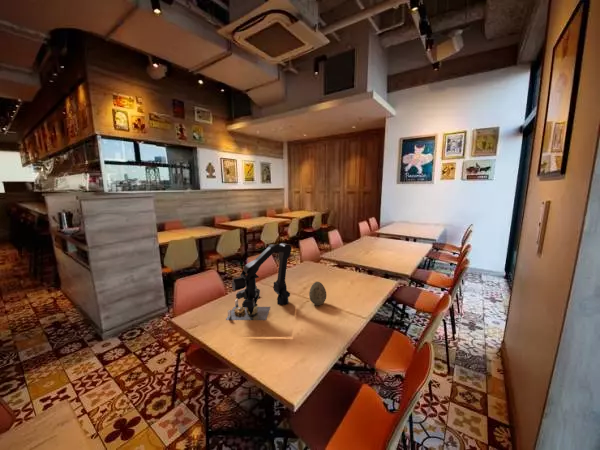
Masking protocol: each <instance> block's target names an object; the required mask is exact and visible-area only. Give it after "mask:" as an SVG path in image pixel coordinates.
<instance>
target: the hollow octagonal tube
mask: <svg viewBox="0 0 600 450" xmlns="http://www.w3.org/2000/svg"><path fill="white" fill-rule="evenodd" d="M258 307H259V306H258V303H255V306H254V309H253V312H252V314H255V313H257V311H258ZM246 308H247V307H246ZM247 313H248V314H250V312H249V310H248V308H247Z"/></svg>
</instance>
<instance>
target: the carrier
mask: <svg viewBox="0 0 600 450" xmlns="http://www.w3.org/2000/svg"><path fill="white" fill-rule="evenodd" d="M234 304H235V305H234V306H233V308H232V309H229V310H227V317H226V319H225V321H266V320H267V318H268V315H269V313H270V310H271V306H258V311H257V313H255V314H248V313H247V308H246V307H242V306H239V299H237V298H236V299H235V300H234Z"/></svg>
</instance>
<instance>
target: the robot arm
mask: <svg viewBox="0 0 600 450" xmlns="http://www.w3.org/2000/svg"><path fill="white" fill-rule="evenodd" d="M275 252H277V253H278V256H279V263H278V272H277V278H276V279H277V280H276V281H274V282H273V287H272V288H273V292H274V293H276V294H277V295H278V296H277V299H276V303H277V305H281V306H285V305H289V298H290V296H291V292H289V291H288V290H287V283H286V275H287V269H288V268H287V267H288V258H289V257H290V256H291V252H292V246H291V245H290V244H288V243H285V242H281V243H276V244H269V245H268V246H267V247H266V249H264V250H263V251H262V252H261V253H260V254H259V255H258V256H257V257H256V258H255V259H254V260H251V261H249V262H247V264H245V265H244V266H243V270H242V271H241V273H240V274H239V277H238V276H237V277H233V278H232V281H231V288H232V291H234V292H235V291H237V292H236V294H235V296H236V297H235V298H236V299H238V300H242V299H243V302H242V303H241V307H247V308H248V310H249V312H250V314H252V312H253V309H254V306H255V303H256V304H258V299H259V297H260V295H259V294H261V289H259V288H258V287H257V286H258V285H256V284H257V281H256V279H258V278H260V276H259V275H257V273H258V272H259V270H260V267H261V266H262V265H263V264H264V263H265V262H266V261H267V260H268V259H269V258H270V257H271V256H272V255H273V254H274V253H275ZM256 288H257V289H256ZM257 293H258V295H257ZM244 297H245V298H248V299H244Z"/></svg>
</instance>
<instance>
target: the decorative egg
mask: <svg viewBox="0 0 600 450" xmlns="http://www.w3.org/2000/svg"><path fill="white" fill-rule="evenodd" d="M308 293H309V300H310V302H311V303H312V304H313V305H315V306H321V305H323V304H324V303H325V302H326V301H327V290H326V288H325V285H323V283H322V282H321V281H315V282H314V283H312V284H311V287H310V289H309V291H308Z"/></svg>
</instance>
